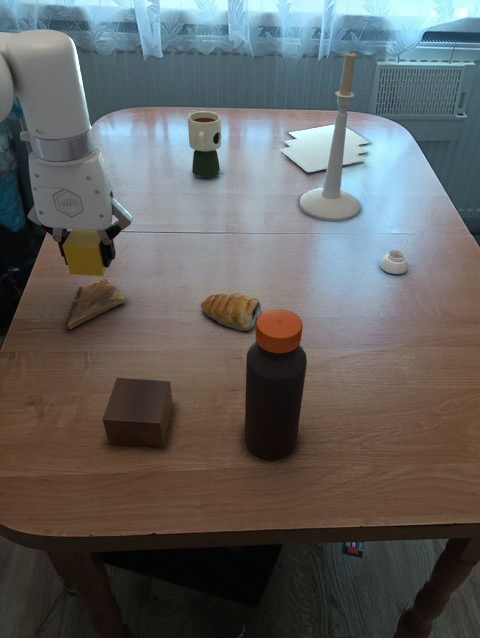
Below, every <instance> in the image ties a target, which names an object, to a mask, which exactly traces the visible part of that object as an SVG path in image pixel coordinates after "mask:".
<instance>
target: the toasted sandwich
mask: <svg viewBox="0 0 480 638" xmlns="http://www.w3.org/2000/svg"><path fill="white" fill-rule="evenodd" d="M125 303H126V298H125V296H124V295H123V294H122V293H121V292H120V290H119V289H117V288H116V287H115V286H113V284H111V282H109V281H108V280H107V279H106V278H101V279H98V280H96V281H93V282H91V283H89V284H86V285H81V286H79V287H78V289H77V291H76V293H75V296H74V298H73V301H72V303H71V305H70V310H69V313H68V317H67V318H66V321H65V324H64V326H65V327H68V330H72V329H73V328H75V327H78V326H80V325H81V324H82V323H85V322H87V321H90V320H91V319H94V318H95V317H96V316H98V315H100V314H102V313H105V312H107V311H109V310H110V309H113V308H115V307H118V306H119V305H123V304H125Z"/></svg>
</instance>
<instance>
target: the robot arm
mask: <svg viewBox="0 0 480 638" xmlns="http://www.w3.org/2000/svg"><path fill="white" fill-rule="evenodd" d="M15 97H17V99H19V102H20V106H21V109H22V113H23V116H24V120H25V123H26V128H27V130H22V131H21V130H20V132H19V139H20V141H21V143H27V144H29V145H30V147H31V152H30V153H29V154H28V172H29V180H30V187H31V193H32V198H33V203H34V204H33V206H32V207H31V209H30V211H29V212H28V214H27V219H28V220H29V221H31V222H33V223H34V224H36V225H38V226H40V227H41V228H42V230H44V231H45V232H46V233H48V235H50V236H52V239H53V241H54V242H56V243H57V245H58V248H59V252H60V256H61V257H62V258H63V259H64V263H65V265H66V266H68V264H67V260H66V256H65V253H64V249H63V244H64V242H65V241H66V239H67V237H68V236H69V234H70V232H71V231H68V230H72V229H79V230H96V231H97V233H98V235H99V237H100V239H101V241H102V242H101V244H100V251H101V255H102V260H103V265H104V266H105V267H107V268H110V266H111V264H112V262H113V260H116V255H117V254H116V247H115V242H114V239H116V237H117V236H118V235H120V233H121V232H122V231H124V230H125V229H127V228H129V226H131V224H132V222H133V220H134V219H133V216H132V215H131V214H130V213H129V212H128V211H127V210H126V209H125V208H124V207H123V206H122V205H121V204H120V203H119V202H118V201H117V199H116V196H115V191H114V187H113V184H112V180H111V176H110V174H109V170H108V167H107V165H106V162H105V159H104V157H103V155H102V152H101V150H100V149H99V148H98V147H96V146H95V142H94V137H93V131H92V126H91V125H92V124H91V121H90V115H89V109H88V105H87V99H86V94H85V88H84V83H83V78H82V72H81V66H80V62H79V56H78V52H77V48H76V45H75V43H74V40H73V39H72V38H71V37H70V36H69V35H68V34H67V33H65V32H62V31H60V30H56V29H55V30H54V29H46V28H45V29H44V28H42V29H40V28H39V29H38V28H37V29H29V30H23V31H20V32H5V31H0V123H2V122H3V121H4V120H6V119H7V118H8V116H9V114H10V113H11V112H12V109H13V105H14V98H15ZM113 216H114V217H115V218H116V219H117V220H116V221H115V222H113ZM112 223H113V224H112Z"/></svg>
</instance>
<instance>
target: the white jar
mask: <svg viewBox="0 0 480 638" xmlns="http://www.w3.org/2000/svg"><path fill="white" fill-rule="evenodd" d="M379 266H380V268H381V269H382V270H383V271H385V272H386V273H389V274H392V275H401V274H404V273H406V272H407V271H408V269H409V265H408V261H407V258H406V254H405V252H403V251H401V250H399V249H391V250H389V251H388V252H387V253H386V254H385V255H384V256H383V258H381V260H380V262H379Z"/></svg>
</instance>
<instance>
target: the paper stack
mask: <svg viewBox="0 0 480 638" xmlns="http://www.w3.org/2000/svg"><path fill="white" fill-rule="evenodd" d="M334 128H335V124H329V125H324V126H319V127H313V128H312V127H311V128H307V129H300V130H295V131H291V132H288V134H289V135H291V136H292V137H293V138H295V139H288V140H283V142H284V143H285V144H286V145H287V146H288V147H283V148H278V150H279V151H280V152H281V153H282V154H284V155H285V156H286V157H288V158H289V159H290V160H291V161H293V162H294V163H295V164H296V165H297V166H299V167H300V168H301V169H302V170H304V171H305V172H306V173H312V172H313V173H314V172H317V171H321V170H327V166H328V161H329V155H330V150H331V144H332V139H333V133H334ZM370 143H371V142H370V141H368V140H367V139H365V138H364V137H362V136H361V135H359V134H357V133H356V132H355V131H353V130H351V129H349V127H347V126H346V134H345V144H344V155H343V165H342V166H346V165H351V164H355V163H360V162H364V161H365V162H366V159H365V157H362V156H361V155H360V154H364V153H365V154H366V153H368V150H366V149H365V148H364V147H362V146H361V145H365V144H366V145H367V144H370Z"/></svg>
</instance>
